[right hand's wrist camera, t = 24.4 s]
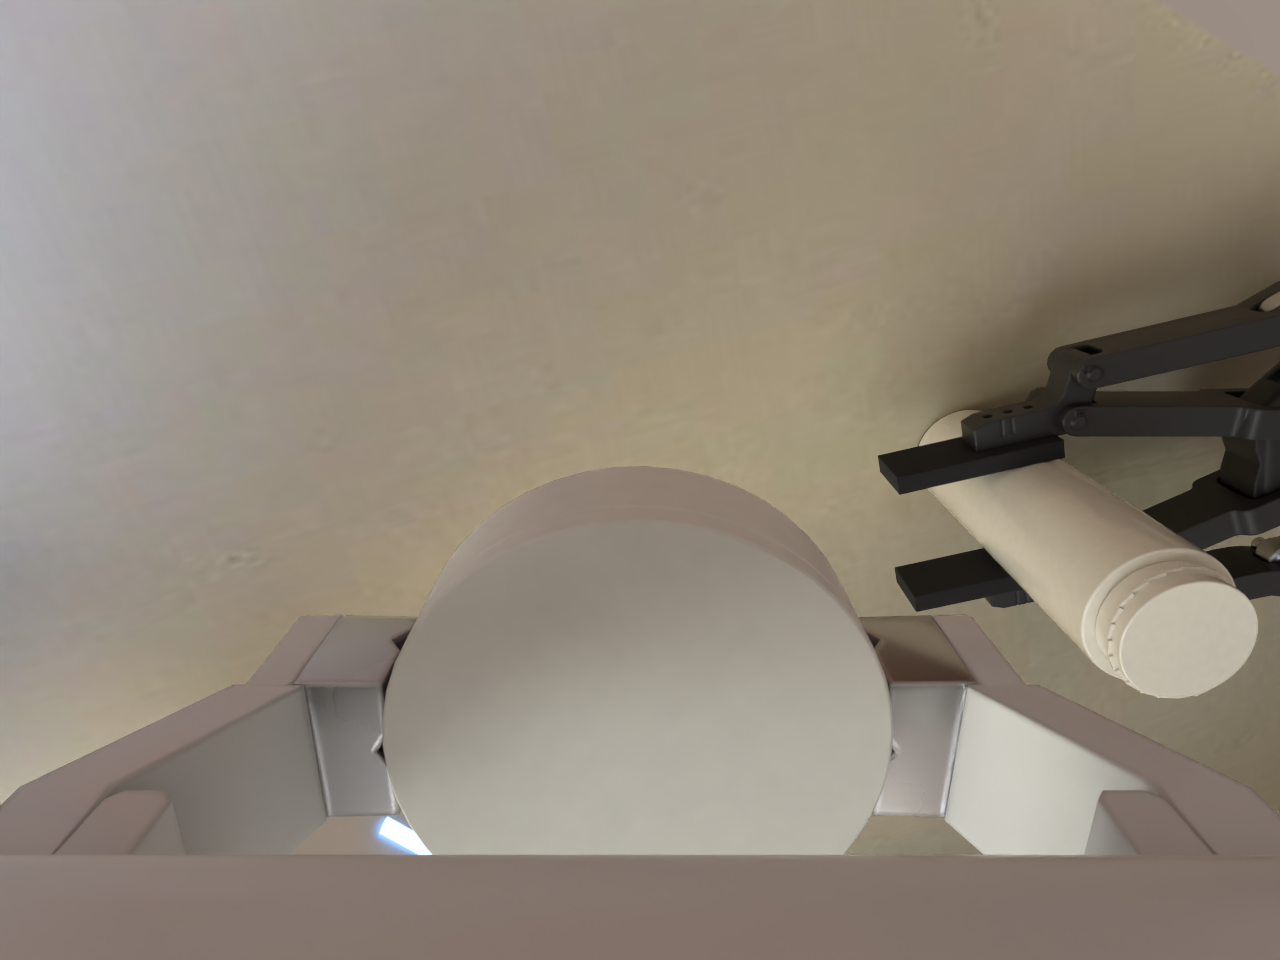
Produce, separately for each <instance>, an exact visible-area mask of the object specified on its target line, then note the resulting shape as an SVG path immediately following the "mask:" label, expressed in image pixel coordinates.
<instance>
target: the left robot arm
mask: <svg viewBox="0 0 1280 960" xmlns="http://www.w3.org/2000/svg"><path fill="white" fill-rule="evenodd" d="M1277 346H1280V281H1278V282H1276V283H1275V284H1273V285H1271V286H1269V287H1268V288H1266V289H1264V290H1262V291H1261V292H1259V293H1257V294H1255V295H1254V296H1252V297H1250V298H1248V299H1247V300H1245V301H1243V302H1242V303H1240V304H1238V305H1236V306H1232V307H1228V308H1224V309H1220V310H1215V311H1211V312H1207V313H1202V314H1198V315H1194V316H1189V317H1185V318H1181V319H1177V320H1172V321H1168V322H1164V323H1159V324H1155V325H1151V326H1147V327H1142V328H1138V329H1134V330H1129V331H1125V332H1121V333H1116V334H1112V335H1108V336H1104V337H1099V338H1095V339H1091V340H1086V341H1082V342H1078V343H1074V344H1069V345H1065V346H1061V347H1059V348H1056V349H1055V350H1054V351H1053V352H1051V354H1050V356H1049V357H1048V362H1047V365H1048V369H1049V370H1050V371H1051V373H1050V376H1049V380H1048V383H1047V386H1046V388H1043V387H1041V388H1036V389H1035V390H1033V391H1032V392H1031V393H1030V394H1029V395H1028V397H1027V399H1026V401H1025V402H1021V403H1016V404H1012V405H1008V406H1003V407H999V408H997V409H996V408H995V409H990V410H988V411H982V412H978V413H973V414H971V415H969V416H968V417H966V418H965V419H963V420H962V421H961V429H962V437H958V438H953V439H949V440H945V441H940V442H936V443H931V444H927V445H923V446H918V447H914V448H910V449H905V450H901V451H896V452H892V453H888V454H883V455H879V456H878V459H879V466H880V472H881V473H882V474H883V475H884V477H885V478H886V479H887V480H888V481H889V483H890V484H891V485H892V486H893V487H894V488H895V490H896V491H897V492H898V493H899V494H904V493H909V492H913V491H918V490H922V489H927V488H931V487H936V486H940V485H945V484H949V483H954V482H958V481H963V480H967V479H971V478H976V477H980V476H985V475H989V474H994V473H998V472H1003V471H1007V470H1012V469H1016V468H1021V467H1025V466H1030V465H1034V464H1038V463H1043V462H1047V461H1052V460H1056V459H1061V458H1065V453H1064V440H1063V439H1061V438H1060V437H1058V436H1059V435H1063V434H1069V435H1071V436H1222V439H1223V442H1224V445H1225V449H1226V450H1225V454H1224V457H1223V461H1222V464H1221V468H1220V470H1218V471H1216V472H1213V473H1211V474H1209V475H1207V476H1204V477H1202V478H1200V479H1198V480H1196V481H1195V482H1194V483H1193V488H1192V489H1191V490H1189V491H1187V492H1185V493H1182V494H1180V495H1178V496H1175V497H1173V498H1171V499H1169V500H1166V501H1164V502H1162V503H1159V504H1157V505H1155V506H1153V507H1150V508H1148V509H1146V510H1143V512H1144V513H1146V514H1147V515H1149V516H1150V517H1152V518H1154V519H1155V520H1157V521H1158V522H1160V523H1161V524H1163V525H1164V526H1166V527H1168V528H1169V529H1171V530H1172V531H1174V532H1175V533H1177V534H1178V535H1180V536H1182V537H1183V538H1185V539H1186V540H1188V541H1189V542H1191V543H1192V544H1194V545H1196V546H1197V547H1199V548H1200V549H1205V548H1207V547H1210V546H1212V545H1214V544H1217V543H1219V542H1221V541H1224V540H1226V539H1228V538H1231V537H1233V536H1236V535H1258V534H1261V533H1264V532H1266V531H1268V530H1271V529H1273V528H1276V527H1278V526H1280V362H1279V363H1278V364H1277V365H1275V366H1274V367H1273V368H1272V369H1271V370H1270V371H1269V372H1267V373H1266V374H1265V375H1264V376H1263V377H1262V378H1261V379H1259V380H1258V381H1257V382H1256V383H1255V384H1254V385H1253V386H1251V387H1250V388H1249V389H1200V390H1199V391H1196V392H1096V390H1097V388H1099V387H1104V386H1108V385H1113V384H1117V383H1121V382H1126V381H1130V380H1135V379H1139V378H1143V377H1148V376H1152V375H1157V374H1161V373H1165V372H1170V371H1174V370H1179V369H1183V368H1187V367H1192V366H1196V365H1200V364H1205V363H1209V362H1214V361H1218V360H1222V359H1227V358H1231V357H1236V356H1240V355H1244V354H1249V353H1253V352H1258V351H1262V350H1266V349H1270V348H1274V347H1277ZM1206 553H1208V554H1210V555H1211V556H1213V557H1214V558H1216V559H1217V560H1218V561H1219V562H1221V563H1222V564H1223V565H1224V566H1225V568H1226V569H1227V570H1228V571H1229V573H1230V575H1231V576H1232V578H1233V581H1234V583H1235V586H1236V588H1237V589H1238V590H1240V591H1241V592H1242V593H1244V594H1245V595H1246V596H1247V598H1248V599H1249V600H1251V599H1256V598H1261V597H1265V596H1270V595H1273V596H1280V536H1279V537H1273V538H1268V539H1264V538H1262V537H1258V538H1255V539H1254V540H1253V541H1252V543H1251V546H1234V547H1226V548H1220V549H1215V550H1210V551H1206ZM895 572H896V579H897V583H898V584H899V586H900V587H901V589H902V590H903V592H904V593H905V595H906V597H907V598H908V600H909V601H910V603H911V604H912V606H913V607H914V609H915V610H916V612H918V611H923V610H927V609H932V608H937V607H942V606H946V605H951V604H956V603H961V602H965V601H970V600H975V599H979V598H984V597H985V598H986V600H987V601H988V602H989V603H990V604H991V606H993V607H1001V608H1006V607H1011V606H1015V605H1017V604H1019V605H1020V604H1025V603H1027V602H1028V603H1030V602H1034V600H1033V599H1032V598H1031V597H1030V596H1029V595H1028V594H1027V593H1026V592H1025V591H1024V590H1023V589H1022V588H1021V587H1020V586H1019V585H1018V583H1017V582H1016V581H1015V580H1014V579H1013V578H1012V577H1011V576H1010V575H1009V574H1008V573H1007V572H1006V571H1005V570H1004V569H1003V568H1002V567H1001V566H1000V565H999V564H998V563H997V561H996V560H995V559H994V558H993V557H992V556H991V555H990V554H989V553H988V552H987V551H986V550H985V549H984V548H982V549H978V550H973V551H969V552H964V553H959V554H955V555H950V556H946V557H941V558H936V559H932V560H927V561H923V562H918V563H913V564H909V565H904V566H899V567H895Z"/></svg>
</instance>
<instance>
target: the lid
mask: <svg viewBox="0 0 1280 960" xmlns="http://www.w3.org/2000/svg"><path fill="white" fill-rule="evenodd" d="M382 731H383V750H384V756H385V761H386V767H387V772H388V776H389V779H390V782H391V785H392V788H393V791H394V794H395V797H396V800H397V802H398V804H399V806H400V808H401V810H402V812H403V814H404V815H405V817H406V819H407V821H408V823H409V825H410V826H411V828H412V829H413V831H414V832H415V834H416V835H417V836H418V838H419V839H420V841H421V842H422V843H423V845H424V846H425V848H426V849H427V850H428V851H429V852H430V853H431V854H432V855H844V853H845V852H846V851H847V850H848V849H849V847H850V846H851V845H852V844H853V842H854V841H855V840H856V839H857V837H858V836H859V835H860V833H861V831H862V830H863V828H864V826H865V825H866V823H867V821H868V820H869V818H870V817H871V815H872V813H873V811H874V809H875V807H876V804H877V802H878V800H879V797H880V795H881V792H882V790H883V788H884V784H885V780H886V777H887V773H888V769H889V765H890V761H891V753H892V742H893V732H894V731H893V715H892V702H891V698H890V694H889V689H888V685H887V680H886V676H885V673H884V671H883V669H882V666H881V664H880V661H879V659H878V656H877V654H876V651H875V649H874V647H873V645H872V643H871V641H870V639H869V637H868V635H867V633H866V632H865V629H864V627H863V625H862V623H861V622H860V620H859V618H858V616H857V614H856V612H855V610H854V608H853V606H852V604H851V602H850V600H849V598H848V596H847V594H846V592H845V590H844V588H843V587H842V585H841V583H840V581H839V579H838V577H837V576H836V574H835V572H834V571H833V569H832V567H831V566H830V564H829V562H828V561H827V559H826V557H825V556H824V555H823V553H822V552H821V551H820V550H819V549H818V547H817V546H816V545H815V544H814V542H813V541H812V540H811V539H810V538H809V536H808V535H807V534H806V533H804V532H803V531H802V530H801V529H800V528H799V527H798V526H797V525H796V524H795V523H794V522H793V521H791V520H790V519H789V518H788V517H787V516H786V515H784V514H783V513H781V512H780V511H778V510H777V509H776V508H774V507H773V506H771V505H770V504H768V503H767V502H765V501H764V500H762V499H760V498H758V497H756V496H755V495H753V494H751V493H749V492H747V491H745V490H743V489H741V488H739V487H737V486H734V485H732V484H729V483H726V482H723V481H720V480H718V479H715V478H712V477H709V476H706V475H701V474H697V473H692V472H688V471H683V470H678V469H670V468H659V467H648V466H639V467H613V468H606V469H600V470H594V471H587V472H582V473H578V474H575V475H572V476H568V477H565V478H561V479H558V480H554V481H552V482H549V483H547V484H545V485H542V486H540V487H538V488H535V489H533V490H531V491H529V492H526V493H524V494H523V495H521V496H519V497H518V498H516V499H514V500H513V501H511V502H509V503H508V504H506V505H504V506H503V507H501V508H500V509H498V510H497V511H496V512H495V513H493V514H492V515H491V516H490V517H488V518H487V519H486V520H485V521H483V522H482V523H481V524H480V525H478V526H477V527H476V528H475V529H474V530H473V531H472V533H471V534H470V535H469V536H468V537H467V538H466V539H465V540H464V541H463V542H462V543H461V544H460V545H459V546H458V548H457V549H456V551H455V552H454V553H453V555H452V556H451V558H450V559H449V561H448V562H447V563H446V565H445V566H444V568H443V569H442V571H441V573H440V575H439V577H438V579H437V581H436V583H435V585H434V587H433V589H432V591H431V593H430V595H429V596H428V598H427V600H426V602H425V604H424V606H423V608H422V610H421V612H420V614H419V616H418V618H417V620H416V622H415V624H414V626H413V627H412V629H411V631H410V633H409V635H408V637H407V639H406V641H405V643H404V645H403V647H402V649H401V651H400V653H399V655H398V657H397V659H396V661H395V664H394V667H393V670H392V673H391V677H390V680H389V683H388V686H387V689H386V695H385V702H384V709H383V716H382Z"/></svg>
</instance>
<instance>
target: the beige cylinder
mask: <svg viewBox="0 0 1280 960" xmlns="http://www.w3.org/2000/svg"><path fill="white" fill-rule="evenodd" d="M978 412H982V411H979V410H963V411H958V412H955V413H952V414H949V415H947V416H945V417H943V418H941V419H940V420H939V421H937V422H936V423H935V424H934V425H932V426H931V427H930V428H929V430H928V431H927V432H926V433H925V435H924V436H923V438H922V440H921V442H920V444H919V446H923V445H927V444H931V443H936V442H940V441H945V440H949V439H953V438H958V437H962V429H961V421H962V420H963V419H965V418H966V417H968V416H969V415H971V414H973V413H978ZM927 489H928V490H929V491H930V492H931V493H932V495H933V496H934V497H935V498H936V499H937V500H938V501H939V502H940V503H941V504H942V505H943V506H944V507H945V508H946V509H947V510H948V511H949V512H950V513H951V514H952V515H953V517H954V518H955V519H956V520H957V521H958V522H959V523H960V524H961V525H962V526H963V527H964V528H965V529H966V530H967V531H968V532H969V533H970V534H971V535H972V536H973V537H974V538H975V540H976V541H977V542H978V543H979V544H980V545H981V546H982V547H983V548H984V549H985V550H986V551H987V552H988V553H989V554H990V555H991V556H992V557H993V558H994V559H995V560H996V561H997V563H998V564H999V565H1000V566H1001V567H1002V568H1003V569H1004V570H1005V571H1006V572H1007V573H1008V574H1009V575H1010V576H1011V577H1012V578H1013V579H1014V580H1015V581H1016V582H1017V583H1018V585H1019V586H1020V587H1021V588H1022V589H1023V590H1024V591H1025V592H1026V593H1027V594H1028V595H1029V596H1030V597H1031V598H1032V599H1033V600H1034V601H1035V602H1036V603H1037V604H1038V605H1039V606H1040V608H1041V609H1042V610H1043V611H1044V612H1045V613H1046V614H1047V615H1048V616H1049V617H1050V618H1051V619H1052V620H1053V621H1054V622H1055V623H1056V624H1057V625H1058V626H1059V627H1060V628H1061V630H1062V631H1063V632H1064V633H1065V634H1066V635H1067V636H1068V637H1069V638H1070V639H1071V640H1072V641H1073V642H1074V643H1075V644H1076V645H1077V646H1078V647H1079V648H1080V649H1081V650H1082V651H1083V653H1084V654H1085V655H1086V656H1087V657H1088V658H1089V659H1090V660H1091V661H1092V662H1093V663H1094V664H1095V665H1096V666H1097V667H1098V668H1100V669H1101V670H1103V671H1104V672H1106V673H1108V674H1110V675H1112V676H1114V677H1117V678H1120V679H1122V680H1123V681H1124V682H1125V683H1126V684H1127V685H1129V686H1131V687H1132V688H1134V689H1136V690H1138V691H1139V692H1140V693H1144V694H1148V695H1153V696H1156V697H1157V698H1175V699H1179V698H1183V697H1190V696H1194V695H1195V696H1198V695H1200V694H1202V693H1204V692H1206V691H1208V690H1211V689H1213V688H1215V687H1216V686H1218V685H1220V684H1222V683H1223V682H1225V681H1226V680H1227V679H1229V678H1230V677H1231V676H1232V675H1234V674H1235V673H1236V672H1237V671H1238V670H1239V669H1240V668H1241V667H1242V665H1243V664H1244V663H1245V662H1246V660H1247V659H1248V657H1249V656H1250V654H1251V652H1252V650H1253V648H1254V645H1255V643H1256V639H1257V636H1258V618H1257V613H1256V611H1255V608H1254V606H1253V604H1252V603H1251V601H1250V600H1249V599H1248V598H1247V596H1246V595H1245V594H1244V593H1242V592H1241V591H1240V590H1238V589H1237V588H1236V586H1235V583H1234V581H1233V578H1232V576H1231V575H1230V573H1229V571H1228V570H1227V569H1226V568H1225V566H1224V565H1223V564H1222V563H1221V562H1219V561H1218V560H1217V559H1216V558H1214V557H1213V556H1211V555H1210V554H1208V553H1206V552H1205V551H1203V550H1202V549H1200V548H1199V547H1197V546H1196V545H1194V544H1192V543H1191V542H1189V541H1188V540H1186V539H1185V538H1183V537H1182V536H1180V535H1178V534H1177V533H1175V532H1174V531H1172V530H1171V529H1169V528H1168V527H1166V526H1164V525H1163V524H1161V523H1160V522H1158V521H1157V520H1155V519H1154V518H1152V517H1150V516H1149V515H1147V514H1146V513H1144V512H1143V511H1141V510H1140V509H1138V508H1136V507H1135V506H1133V505H1132V504H1130V503H1129V502H1127V501H1126V500H1124V499H1122V498H1121V497H1119V496H1118V495H1116V494H1115V493H1113V492H1112V491H1110V490H1108V489H1107V488H1105V487H1104V486H1102V485H1101V484H1099V483H1098V482H1096V481H1094V480H1093V479H1091V478H1090V477H1088V476H1087V475H1085V474H1084V473H1082V472H1080V471H1079V470H1077V469H1076V468H1074V467H1073V466H1071V465H1070V464H1068V463H1066V462H1065V461H1063V460H1062V459H1056V460H1052V461H1047V462H1043V463H1038V464H1034V465H1030V466H1025V467H1021V468H1016V469H1012V470H1007V471H1003V472H998V473H994V474H989V475H985V476H980V477H976V478H971V479H967V480H963V481H958V482H954V483H949V484H945V485H940V486H936V487H931V488H927Z"/></svg>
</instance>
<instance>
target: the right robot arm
mask: <svg viewBox="0 0 1280 960" xmlns="http://www.w3.org/2000/svg"><path fill="white" fill-rule="evenodd" d="M417 618H418V617H405V616H352V615H347V616H343V615H308V616H303V617H300V618H299V619H298V620H297V622H296V623H295V624H294V625H293V627H292V628H291V629H290V630H289V632H288V633H287V634H286V635H285V637H284V638H283V639H282V640H281V641H280V643H279V644H278V645H277V646H276V648H275V649H274V650H273V651H272V653H271V654H270V655H269V656H268V658H267V659H266V660H265V661H264V663H263V664H262V665H261V666H260V667H259V669H258V670H257V671H256V672H255V674H254V675H253V676H252V677H251V679H250V680H249V681H248V682H247V684H246V685H232V686H230V687H228V688H226V689H223V690H221V691H219V692H217V693H215V694H213V695H211V696H209V697H207V698H205V699H203V700H200V701H198V702H196V703H194V704H192V705H190V706H188V707H186V708H184V709H182V710H180V711H177V712H175V713H173V714H171V715H169V716H167V717H165V718H163V719H161V720H159V721H157V722H155V723H152V724H150V725H148V726H146V727H144V728H142V729H140V730H138V731H136V732H134V733H132V734H129V735H127V736H125V737H123V738H121V739H119V740H117V741H115V742H113V743H111V744H109V745H106V746H104V747H102V748H100V749H98V750H96V751H94V752H92V753H90V754H88V755H86V756H83V757H81V758H79V759H77V760H75V761H73V762H71V763H69V764H67V765H65V766H63V767H61V768H58V769H56V770H54V771H52V772H50V773H48V774H46V775H44V776H42V777H40V778H38V779H35V780H33V781H31V782H29V783H27V784H25V785H23V786H21V787H19V788H18V789H17V790H16V791H15V792H14V793H13V794H12V795H11V796H10V797H9V798H8V799H7V800H6V801H5V802H4V803H3V804H2V805H0V960H1280V816H1279V815H1278V814H1277V813H1276V812H1275V811H1274V810H1273V809H1272V808H1271V807H1270V806H1269V805H1268V804H1267V803H1266V802H1265V801H1264V800H1263V799H1262V798H1261V797H1259V796H1258V795H1257V794H1256V793H1255V792H1254V791H1253V790H1252V789H1251V788H1250V787H1248V786H1246V785H1244V784H1241V783H1239V782H1237V781H1235V780H1233V779H1231V778H1229V777H1227V776H1225V775H1223V774H1221V773H1219V772H1217V771H1215V770H1213V769H1211V768H1208V767H1206V766H1204V765H1202V764H1200V763H1198V762H1196V761H1194V760H1192V759H1190V758H1188V757H1186V756H1184V755H1182V754H1180V753H1178V752H1175V751H1173V750H1171V749H1169V748H1167V747H1165V746H1163V745H1161V744H1159V743H1157V742H1155V741H1153V740H1151V739H1149V738H1147V737H1145V736H1142V735H1140V734H1138V733H1136V732H1134V731H1132V730H1130V729H1128V728H1126V727H1124V726H1122V725H1120V724H1118V723H1116V722H1114V721H1112V720H1109V719H1107V718H1105V717H1103V716H1101V715H1099V714H1097V713H1095V712H1093V711H1091V710H1089V709H1087V708H1085V707H1083V706H1081V705H1079V704H1077V703H1074V702H1072V701H1070V700H1068V699H1066V698H1064V697H1062V696H1060V695H1058V694H1056V693H1054V692H1052V691H1050V690H1048V689H1046V688H1044V687H1041V686H1039V685H1026V684H1025V683H1024V682H1023V681H1022V679H1021V678H1020V677H1019V676H1018V674H1017V673H1016V672H1015V671H1014V669H1013V668H1012V667H1011V666H1010V664H1009V663H1008V662H1007V661H1006V659H1005V658H1004V657H1003V656H1002V654H1001V653H1000V652H999V650H998V649H997V648H996V647H995V645H994V644H993V643H992V642H991V640H990V639H989V638H988V637H987V635H986V634H985V633H984V632H983V630H982V629H981V628H980V627H979V625H978V624H977V623H976V622H975V620H974V619H973V618H972V617H970V616H967V615H965V614H963V615H939V616H931V615H930V616H889V617H858V618H859V620H860V622H861V623H862V625H863V627H864V629H865V632H866V633H867V635H868V637H869V639H870V641H871V643H872V645H873V647H874V649H875V651H876V654H877V656H878V659H879V661H880V664H881V666H882V669H883V671H884V673H885V676H886V680H887V685H888V689H889V694H890V698H891V702H892V715H893V731H894V732H893V742H892V753H891V761H890V765H889V769H888V773H887V777H886V780H885V784H884V788H883V790H882V792H881V795H880V797H879V800H878V802H877V804H876V807H875V809H874V811H873V813H872V815H886V816H922V817H945V821H946V822H947V823H948V824H949V825H951V826H952V827H953V828H954V829H955V830H956V831H957V832H959V833H960V834H961V835H962V836H963V837H964V838H965V839H967V840H968V841H969V842H970V843H971V844H972V845H973V846H975V847H976V848H977V849H978V850H979V851H980V852H981V853H982V854H984V855H432V854H431V853H430V852H429V851H428V850H427V849H426V848H425V846H424V845H423V843H422V842H421V841H420V839H419V838H418V836H417V835H416V834H415V832H414V831H413V829H412V828H411V826H410V825H409V823H408V821H407V819H406V817H405V815H404V814H403V812H402V810H401V808H400V806H399V804H398V802H397V800H396V797H395V794H394V791H393V788H392V785H391V782H390V779H389V776H388V772H387V767H386V761H385V756H384V750H383V731H382V716H383V709H384V702H385V695H386V689H387V686H388V683H389V680H390V677H391V673H392V670H393V667H394V664H395V661H396V659H397V657H398V655H399V653H400V651H401V649H402V647H403V645H404V643H405V641H406V639H407V637H408V635H409V633H410V631H411V629H412V627H413V626H414V624H415V622H416V620H417Z"/></svg>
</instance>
